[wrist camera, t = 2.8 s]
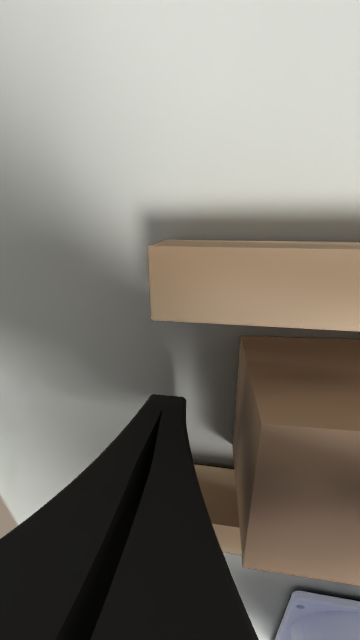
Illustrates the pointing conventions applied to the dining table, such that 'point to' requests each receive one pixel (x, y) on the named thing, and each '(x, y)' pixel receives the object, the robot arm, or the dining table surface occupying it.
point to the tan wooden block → (299, 456)
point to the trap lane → (252, 311)
